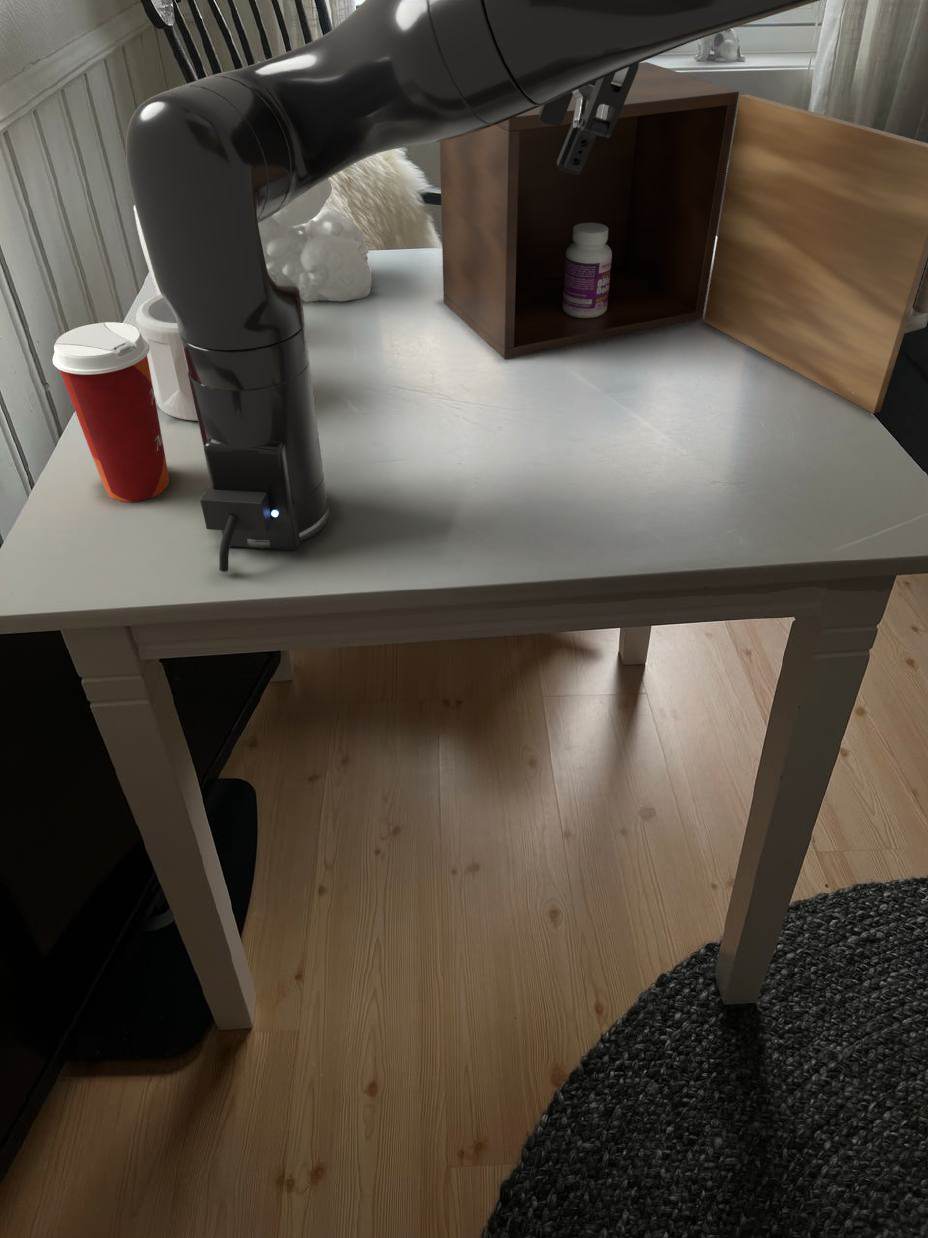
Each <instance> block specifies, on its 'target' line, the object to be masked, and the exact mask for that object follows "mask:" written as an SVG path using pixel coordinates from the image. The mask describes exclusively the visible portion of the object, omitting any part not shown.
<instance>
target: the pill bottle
mask: <svg viewBox="0 0 928 1238" xmlns="http://www.w3.org/2000/svg"><path fill="white" fill-rule="evenodd" d="M572 238H573V241H574V243H572V244H571V245H570V246H569V247H568V248H567V251H566V256H565V275H564V291H563V310H564V312H565V313H566V314H568V315H570V316H573V317H577V318H595V317H598V316H600V315H602V314H604V313H605V311H606V310H607V303H608V294H609V282H610V271H611V261H612V251H611V249H610V247H609V246H608V245H607V244H605V243H606V242H607V239H608V227H607V226H605V225H603V224H599V223H581V224H577V225H575V226H574V227H573V236H572Z"/></svg>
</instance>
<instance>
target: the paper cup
mask: <svg viewBox="0 0 928 1238" xmlns="http://www.w3.org/2000/svg"><path fill="white" fill-rule="evenodd" d="M53 350H54V353H53V354H52V355H53V356H52V364H53V366H54V367H55V368H57V369H58V370H59V372H60V375H61V377H62V380H63V383H64V385H65V387H66V390H67V393H68V396H69V398H70V401H71V404H72V406H73V409H74V411H75V414H76V417H77V419H78V422H79V425H80V428H81V430H82V433H83V437H84V439H85V441H86V443H87V446H88V449H89V451H90V455H91V457H92V459H93V462H94V464H95V468H96V469H97V472H98V475H99V477H100V480H101V482H102V485H103V487H104V489H105V492H106V494H107V495H108V496H109V497H110V498H111V499H113V500H115V501H118V502H124V503H135V502H141V501H146V500H149V499H151V498H155V497H156V496H159V495H160V494H161V493H162V492H164V491H165V490H166V489H167V487H168V486H169V483H170V480H169V471H168V464H167V459H166V452H165V446H164V441H163V440H164V439H163V435H162V430H161V424H160V419H159V413H158V407H157V401H156V398H155V394H154V390H153V385H152V379H151V374H150V368H149V363H148V357H147V354H148V353H149V350H150V348H149V344H148V343H147V341H146V340H144V339H143V338H142V335H141V333H140V331H139V329H138V327H135V326H134V325H131V324H128V323H125V322H114V321H105V322H98V323H96V322H95V323H91V324H85V325H82V326H78V327H75V328H72V329H70V330H68V331H66V332H64V333H62V334H61V335H60V336H59V337H58V338H57V339H56V341H55V343H54V346H53Z"/></svg>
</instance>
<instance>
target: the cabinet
mask: <svg viewBox="0 0 928 1238" xmlns="http://www.w3.org/2000/svg"><path fill="white" fill-rule="evenodd" d="M588 85H589V86H591V87H594V86H593V85H590V84H588ZM739 97H740V91H738V90H735V89H733V88H729V87H725V86H723V85H719V84H717V83H715V82H714V83H713V82H710V81H707V80H703V79H701V78H697V77H696V76H692V75H688V74H685V73H682V72H680V71H676V70H673V69H669V68H666V67H664V66H660V65H658V64H654V63H651V62H648V61H642V62H640V63H639V67H638V71H637V73H636V76H635V78H634V81H633V83H632V86H631V88H630V90H629V93H628V95H627V98H626V100H625V103H624V105H623V108H622V110H621V113H620V115H619V118H618V120H617V122H616V125H615V127H614V130H613V132H612V135H611V136H610V138H605V137H601V136H598V135H597V136H596V138H595V141H594V143H593V146H592V148H591V150H590V153H589V155H588V157H587V160H586V162H585V165H584V167H583V169H582V171H581V173H580V174H578V175H573V174H569V173H565V172H562V171H560V170H559V168H558V166H557V160H558V157H559V155H560V152H561V150H562V147H563V145H564V142H565V140H566V137H567V135H568V132H569V130H570V127H571V125H572V124H573V118H574V113H575V107H576V98H575V97H574V95H573V96H572V99H571V101H570V104H569V106H568V109H567V112H566V114H565V117H564V119H563V122H562V123H561V124H560V125H559V126H555V125H551V124H548V123H544V122H542V121H541V120H540V117H539V111H540V108H541V106H540V107H537V108H535V109H533V110H530V111H528V112H525V113H523V114H521V115H518V116H516V117H513V118H511V119H509V120H506V121H504V122H501V123H499V124H497V125H494V126H491V127H488V128H485V129H482V130H479V131H477V132H473V133H470V134H467V135H464V136H460V137H456V138H452V139H448V140H444V141H439V166H440V167H439V169H440V206H441V208H440V210H441V248H442V249H441V251H442V253H441V254H442V291H443V292H442V293H443V295H442V296H443V304H444V305H445V306H447V308H449V309H450V310H451V311H452V313H454V314H455V315H456V316H457V317H458V318H459V319H460V320H461V321H463V322H464V323H465V324H466V325H467V326H468V328H470V329H471V330H472V331H473V332H474V333H475V334H477V335H478V337H480V338H481V340H483V341H484V342H486V343H487V344H488V345H489V346H490V348H492V350H494V351H495V352H496V353H497V354H498V355H499V356H500V357H502V359H504V360H508V359H512V358H513V359H514V358H518V357H522V356H527V355H532V354H537V353H543V352H545V351H549V350H555V349H559V348H560V349H561V348H566V347H571V346H575V345H580V344H585V343H590V342H596V341H600V340H601V341H602V340H605V339H611V338H615V337H620V336H626V335H630V334H636V333H640V332H641V333H642V332H645V331H652V330H657V329H662V328H666V327H672V326H675V325H682V324H686V323H691V322H696V321H697V322H698V321H702V320H704V316H705V309H706V303H707V297H708V291H709V284H710V278H711V272H712V266H713V259H714V253H715V247H716V241H717V234H718V228H719V222H720V216H721V210H722V203H723V197H724V191H725V185H726V178H727V172H728V166H729V160H730V153H731V147H732V141H733V135H734V128H735V122H736V116H737V110H738V103H739ZM588 102H589V101H587V105H588ZM587 105H586V107H587ZM610 108H611V106H609V107H608V113H609V110H610ZM608 113H607V115H608ZM596 114H597V112H596ZM596 114H595V117H596ZM581 223H599V224H603V225H605V226H607V227H608V239H607V242H606V243H605V244H607V245H608V246H609V247H610V249H611V251H612V261H611V271H610V282H609V294H608V303H607V310H606V311H605V313H604V314H602V315H600V316H598V317H595V318H577V317H573V316H570V315H568V314H566V313H565V312H564V310H563V291H564V275H565V256H566V251H567V248H568V247H569V246H570V245H571V244H572V243H574V241H573V238H572V236H573V227H574V226H575V225H577V224H581Z"/></svg>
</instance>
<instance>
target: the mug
mask: <svg viewBox="0 0 928 1238" xmlns="http://www.w3.org/2000/svg"><path fill="white" fill-rule="evenodd" d="M135 320H136V325H137V329H138V330H139V331H140V333H141V335H142V338H143V339H144V340H146V341H147V343H148V344H149V348H150V350H149V353H148V354H147V357H148V363H149V368H150V374H151V379H152V385H153V390H154V396H155V401H156V405H157V406H158V408H159V409H160V410H161V411H162V412H164V413H165V414H167V415H169V416H171V417H173V418H176V419H179V420H185V421H195V422H196V421H197V422H198V419H197V414H196V409H195V405H194V400H193V395H192V391H191V386H190V381H189V377H188V371H187V367H186V362H185V357H184V353H183V348H182V343H181V339H180V334H179V329H178V325H177V321H176V318H175V315H174V314H173V312H172V310H171V309H170V307H169V306H168V304H167V303H166V301H165V299H164V298H163V296H162V294H160V295H155V296H153V297H151V298H149V299H147V300H146V301H144V302H143V303H141V305H140V306H139V307H138V309H137V312H136V314H135Z"/></svg>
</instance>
